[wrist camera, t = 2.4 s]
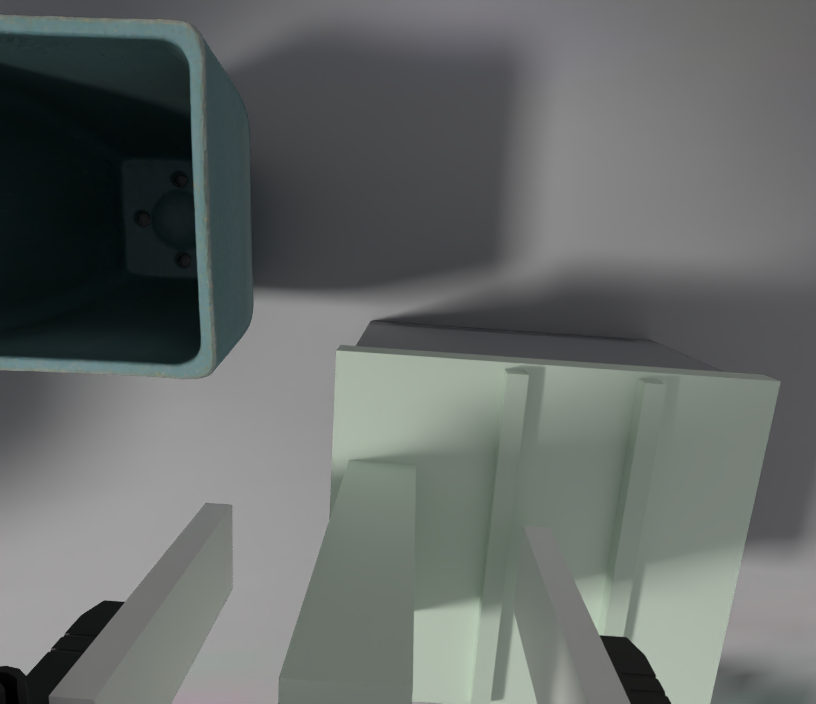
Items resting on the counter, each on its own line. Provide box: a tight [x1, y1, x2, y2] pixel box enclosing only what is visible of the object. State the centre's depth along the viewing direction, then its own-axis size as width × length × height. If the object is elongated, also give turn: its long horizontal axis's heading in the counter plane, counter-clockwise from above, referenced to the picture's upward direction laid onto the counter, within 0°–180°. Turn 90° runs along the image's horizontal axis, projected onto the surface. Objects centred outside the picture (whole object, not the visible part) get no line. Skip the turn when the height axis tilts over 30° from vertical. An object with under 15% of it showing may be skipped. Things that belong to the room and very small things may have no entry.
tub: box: [356, 321, 723, 372], centre depth 20 cm, size 12×11×7 cm
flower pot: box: [0, 14, 254, 379], centre depth 18 cm, size 9×9×9 cm
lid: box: [278, 345, 781, 704], centre depth 13 cm, size 13×12×10 cm
